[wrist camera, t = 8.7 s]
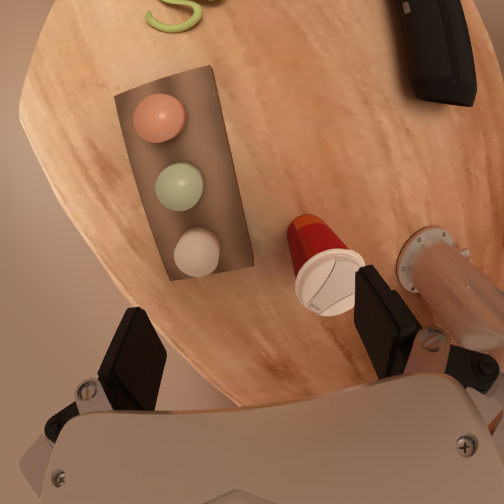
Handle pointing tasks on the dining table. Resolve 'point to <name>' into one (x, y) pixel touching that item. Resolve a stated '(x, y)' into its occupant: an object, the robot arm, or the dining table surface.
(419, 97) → the portable speaker
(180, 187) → the sage button
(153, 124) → the terracotta button
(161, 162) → the switch board
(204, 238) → the cream button
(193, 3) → the figurine
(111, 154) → the dining table surface
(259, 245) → the dining table surface
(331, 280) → the paper cup
